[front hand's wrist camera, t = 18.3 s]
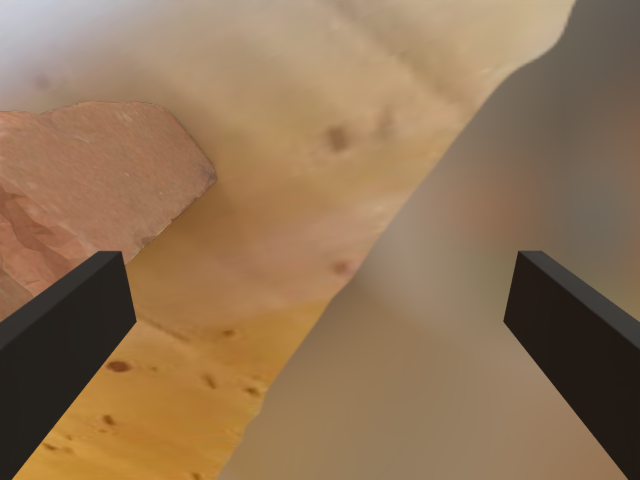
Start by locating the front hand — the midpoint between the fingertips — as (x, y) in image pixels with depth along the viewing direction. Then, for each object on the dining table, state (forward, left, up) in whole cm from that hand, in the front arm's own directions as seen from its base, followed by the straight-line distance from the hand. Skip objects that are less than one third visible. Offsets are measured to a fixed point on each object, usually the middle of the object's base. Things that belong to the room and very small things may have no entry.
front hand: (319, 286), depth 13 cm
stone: (-19, +13, -34) cm, 41 cm away
